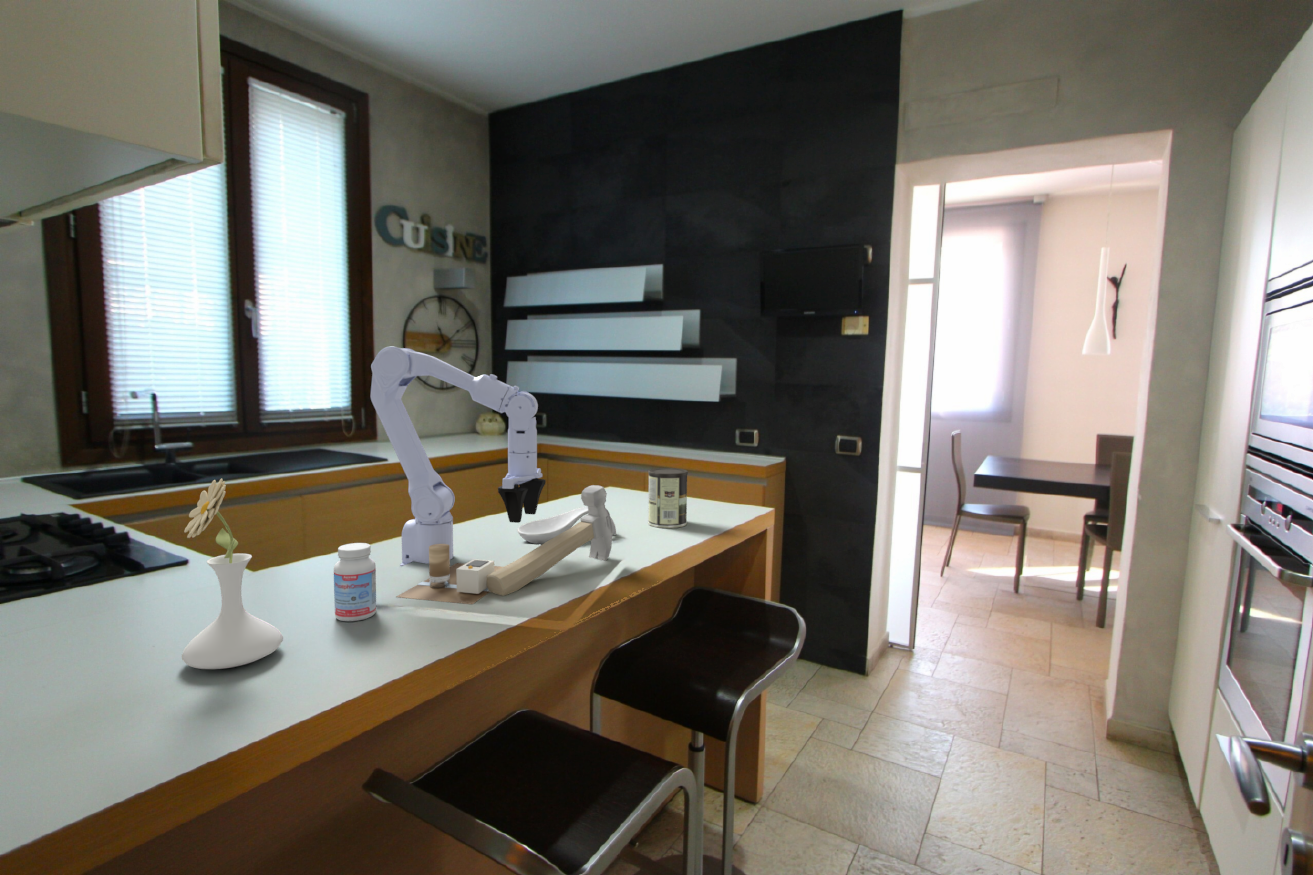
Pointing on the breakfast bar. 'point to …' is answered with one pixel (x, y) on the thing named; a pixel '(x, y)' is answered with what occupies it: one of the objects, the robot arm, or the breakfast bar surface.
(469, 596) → the board
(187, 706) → the breakfast bar surface
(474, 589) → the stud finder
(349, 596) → the pill bottle
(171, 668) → the breakfast bar surface
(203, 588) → the breakfast bar surface
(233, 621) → the flower in vase
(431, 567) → the tan rounded cylinder
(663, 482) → the coffee can
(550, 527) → the spoon rest
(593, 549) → the hammer
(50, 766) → the breakfast bar surface
